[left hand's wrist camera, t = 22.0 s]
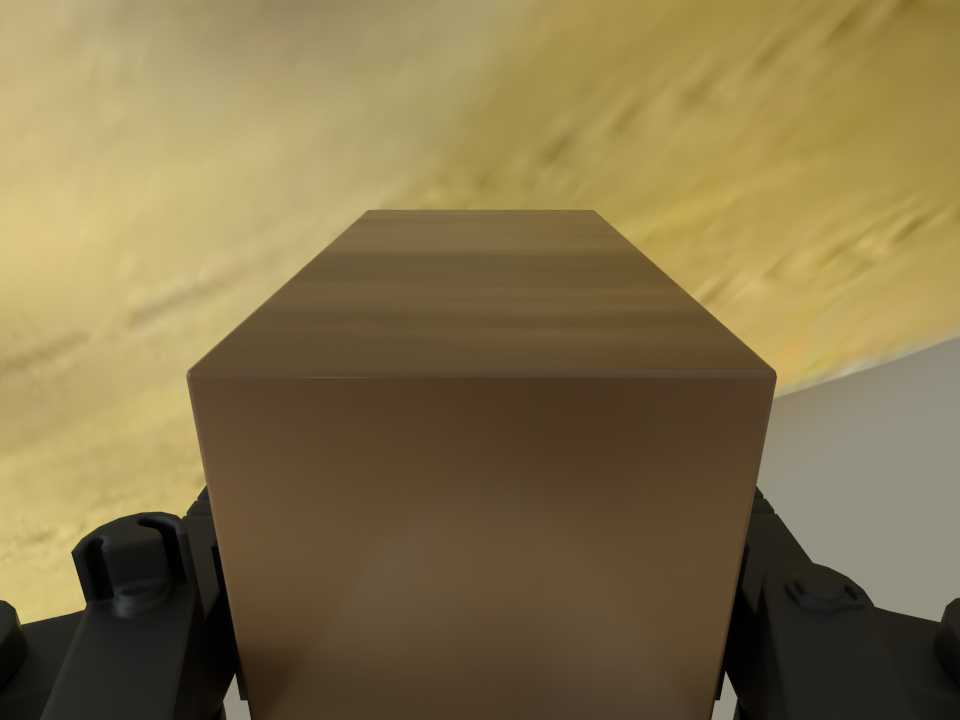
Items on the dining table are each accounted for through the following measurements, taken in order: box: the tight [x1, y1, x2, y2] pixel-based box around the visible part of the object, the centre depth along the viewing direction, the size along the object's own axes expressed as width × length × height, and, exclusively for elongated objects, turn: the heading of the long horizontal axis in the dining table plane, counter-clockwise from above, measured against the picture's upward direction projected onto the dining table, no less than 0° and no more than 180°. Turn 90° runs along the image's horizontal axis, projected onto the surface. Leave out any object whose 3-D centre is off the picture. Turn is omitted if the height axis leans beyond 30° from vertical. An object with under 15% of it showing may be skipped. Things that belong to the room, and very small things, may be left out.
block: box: [187, 210, 777, 720], centre depth 12 cm, size 9×5×10 cm, turn 0°
